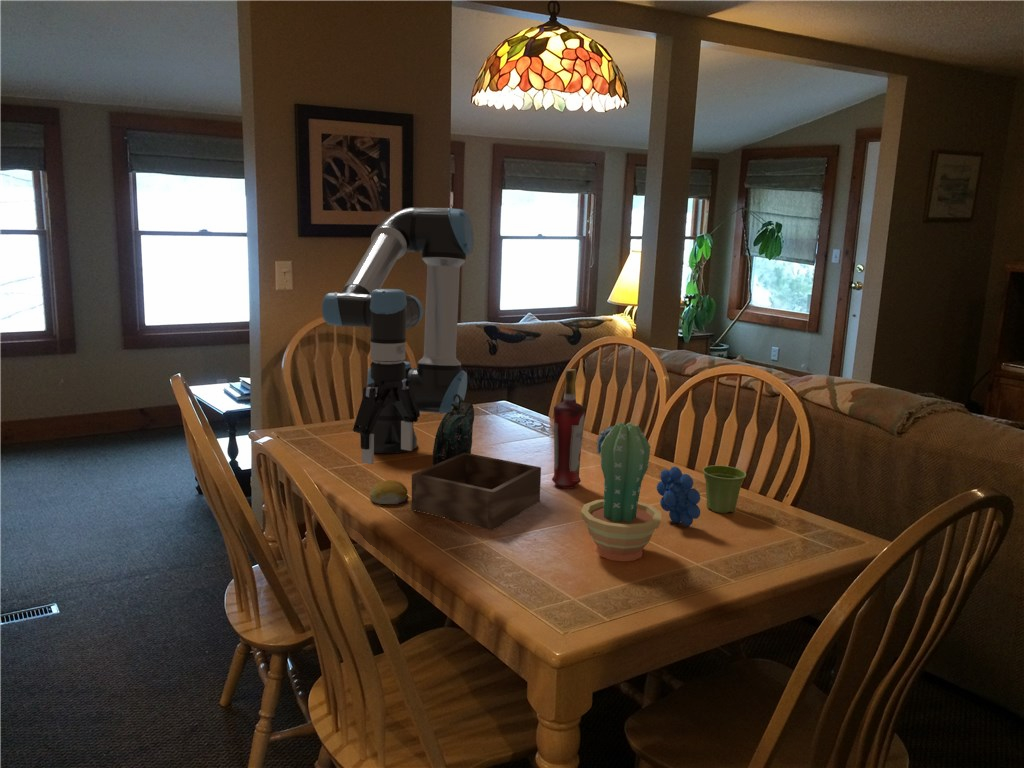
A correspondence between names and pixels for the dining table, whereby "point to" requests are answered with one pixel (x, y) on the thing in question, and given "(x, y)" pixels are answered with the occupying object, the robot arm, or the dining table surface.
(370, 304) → the robot arm
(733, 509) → the plant pot
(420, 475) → the box
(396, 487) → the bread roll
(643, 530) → the potted cactus
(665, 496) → the grapes
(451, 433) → the dark green bag
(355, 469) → the dining table surface
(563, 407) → the liquor
